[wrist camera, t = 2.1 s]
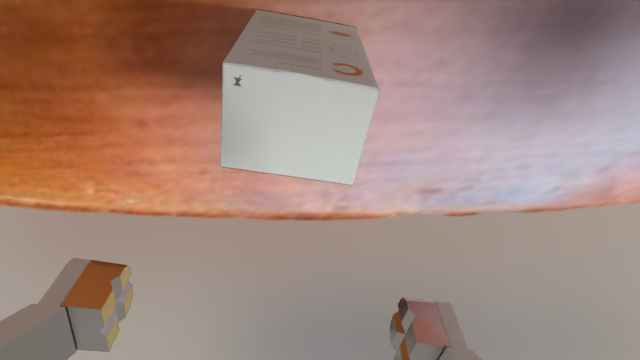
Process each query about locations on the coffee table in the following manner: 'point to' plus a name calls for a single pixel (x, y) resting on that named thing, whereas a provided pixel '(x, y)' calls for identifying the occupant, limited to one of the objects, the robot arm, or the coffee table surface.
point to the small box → (296, 99)
